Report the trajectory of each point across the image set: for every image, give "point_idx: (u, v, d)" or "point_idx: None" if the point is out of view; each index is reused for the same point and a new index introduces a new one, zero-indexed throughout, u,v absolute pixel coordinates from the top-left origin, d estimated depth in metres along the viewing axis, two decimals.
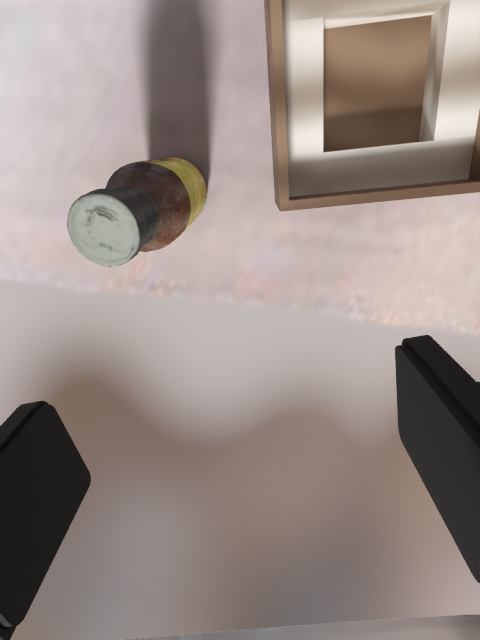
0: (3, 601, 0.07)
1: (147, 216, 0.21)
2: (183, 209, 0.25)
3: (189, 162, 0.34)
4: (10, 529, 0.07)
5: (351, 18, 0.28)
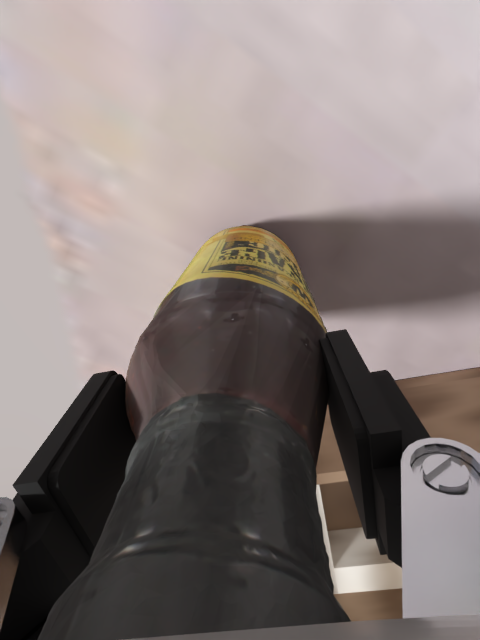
0: None
1: None
2: None
3: None
4: (101, 481, 0.08)
5: None
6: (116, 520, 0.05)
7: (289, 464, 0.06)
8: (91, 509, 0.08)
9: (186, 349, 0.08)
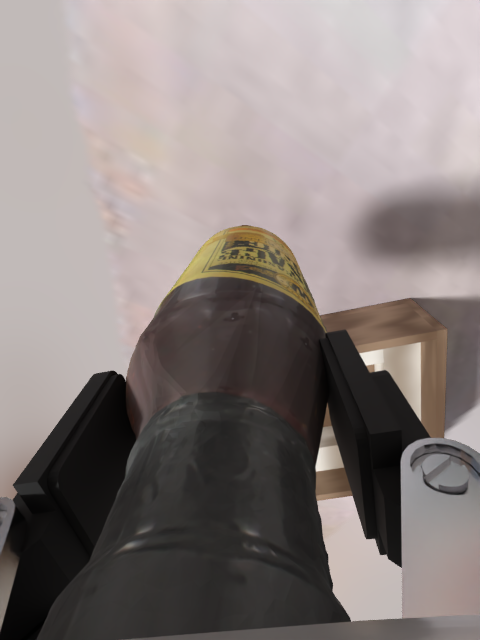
0: None
1: None
2: None
3: None
4: (101, 481, 0.08)
5: None
6: (116, 518, 0.05)
7: (288, 462, 0.06)
8: (91, 509, 0.08)
9: (187, 348, 0.08)
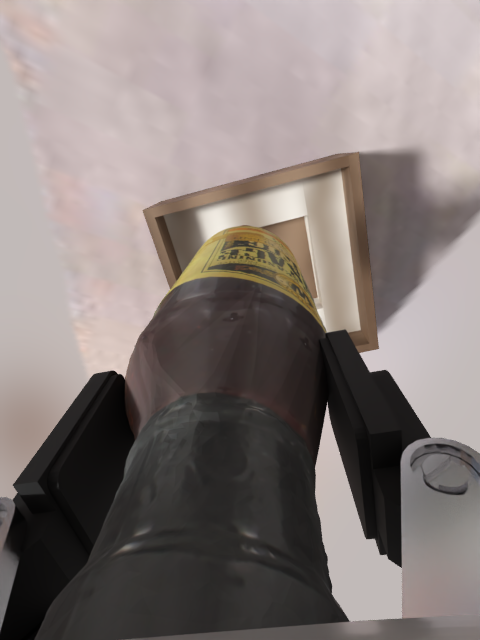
0: None
1: None
2: None
3: None
4: (101, 481, 0.08)
5: (309, 238, 0.34)
6: (114, 519, 0.05)
7: (287, 463, 0.06)
8: (91, 509, 0.08)
9: (186, 349, 0.08)
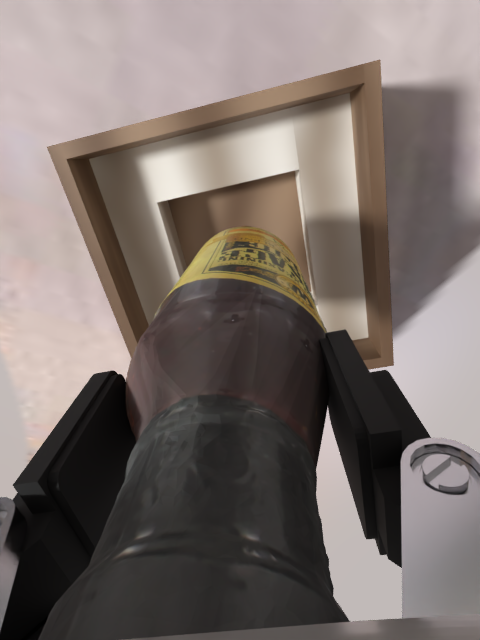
0: None
1: None
2: None
3: None
4: (101, 481, 0.08)
5: (302, 206, 0.24)
6: (115, 522, 0.05)
7: (289, 466, 0.06)
8: (91, 509, 0.08)
9: (187, 350, 0.08)
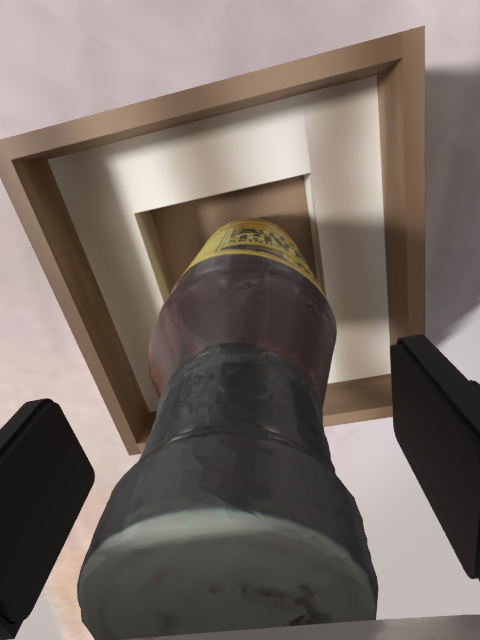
0: (10, 596, 0.07)
1: None
2: None
3: None
4: (16, 525, 0.07)
5: (313, 217, 0.20)
6: (158, 432, 0.06)
7: (300, 394, 0.07)
8: (0, 559, 0.07)
9: (206, 311, 0.09)
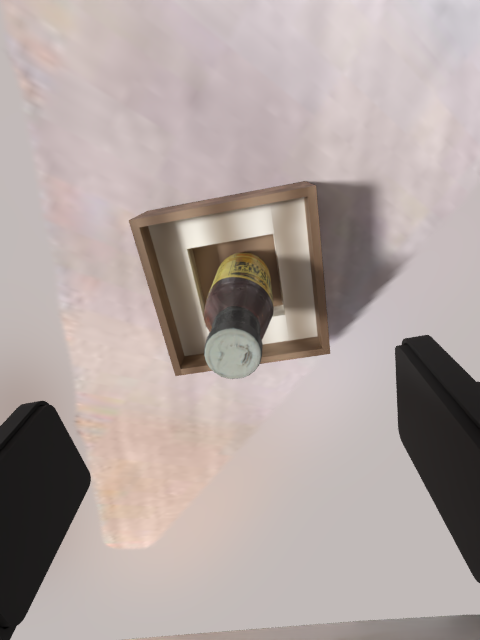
0: (3, 601, 0.07)
1: None
2: None
3: None
4: (10, 529, 0.07)
5: (276, 253, 0.39)
6: (217, 324, 0.25)
7: (252, 319, 0.26)
8: None
9: (226, 297, 0.28)
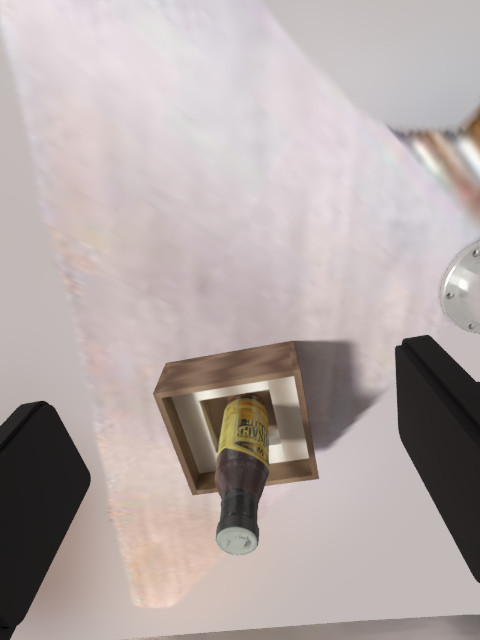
0: (3, 601, 0.07)
1: None
2: None
3: None
4: (10, 529, 0.07)
5: None
6: (225, 511, 0.34)
7: (251, 502, 0.35)
8: None
9: (231, 475, 0.37)
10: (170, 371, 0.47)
